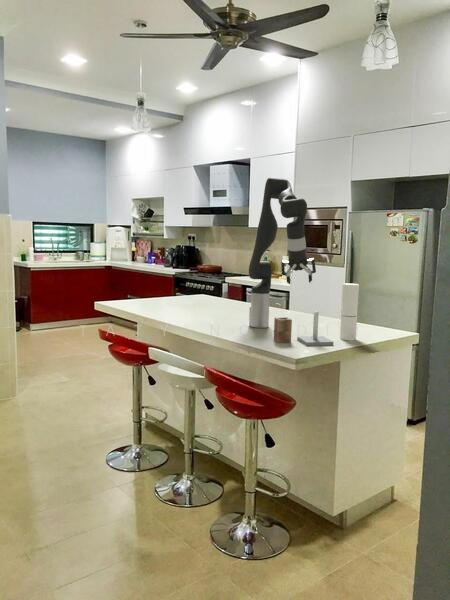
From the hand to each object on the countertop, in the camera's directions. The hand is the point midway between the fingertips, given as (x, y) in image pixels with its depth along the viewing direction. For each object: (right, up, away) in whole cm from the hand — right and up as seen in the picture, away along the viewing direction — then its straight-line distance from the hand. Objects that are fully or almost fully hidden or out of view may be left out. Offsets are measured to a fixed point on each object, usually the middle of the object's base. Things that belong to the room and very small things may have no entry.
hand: (299, 282), depth 208 cm
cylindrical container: (+24, -25, +14) cm, 37 cm away
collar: (-7, -25, +6) cm, 27 cm away
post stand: (+7, -26, +4) cm, 27 cm away
